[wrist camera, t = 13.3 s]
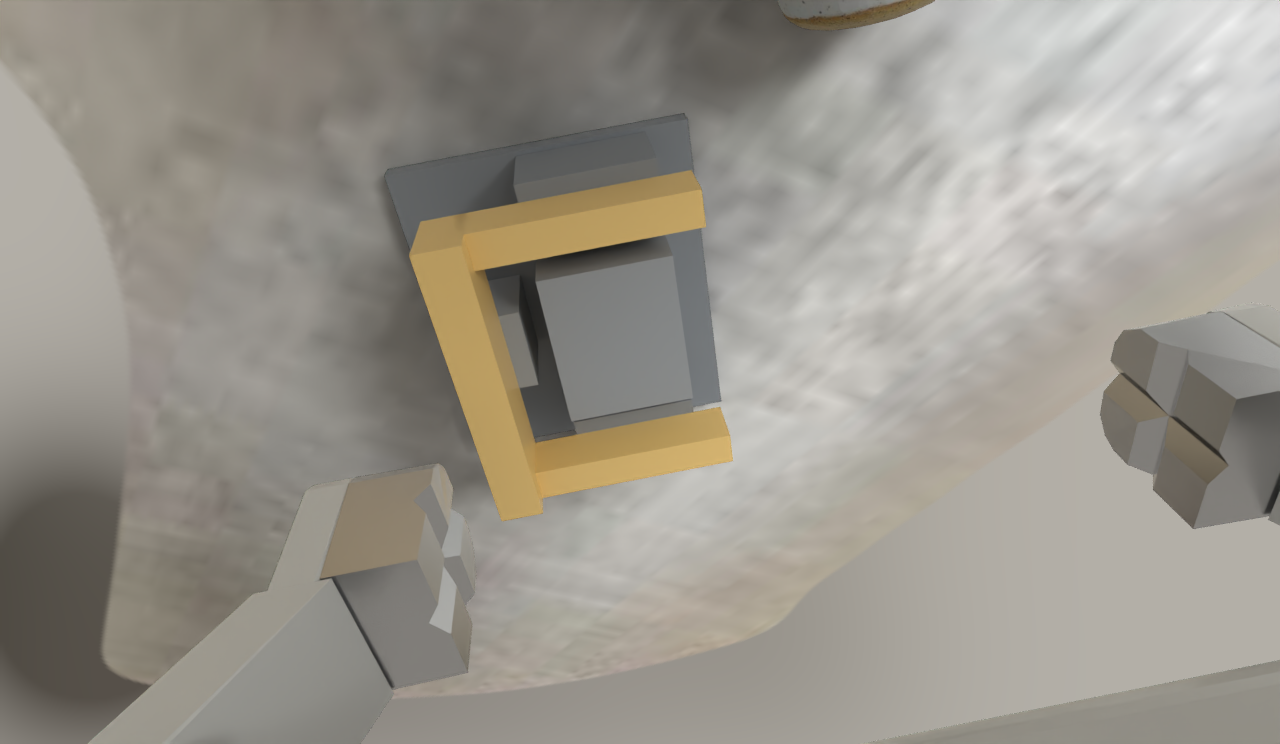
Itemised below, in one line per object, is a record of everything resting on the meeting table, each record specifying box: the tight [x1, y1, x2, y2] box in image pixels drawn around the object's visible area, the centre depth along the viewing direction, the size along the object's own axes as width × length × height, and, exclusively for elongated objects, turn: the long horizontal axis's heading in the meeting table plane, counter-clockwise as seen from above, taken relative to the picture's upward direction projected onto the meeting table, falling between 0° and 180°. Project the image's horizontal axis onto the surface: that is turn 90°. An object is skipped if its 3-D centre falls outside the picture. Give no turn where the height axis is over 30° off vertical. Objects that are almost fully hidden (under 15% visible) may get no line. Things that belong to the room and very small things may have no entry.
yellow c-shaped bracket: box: [409, 170, 733, 521], centre depth 35 cm, size 12×14×4 cm
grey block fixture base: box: [384, 113, 721, 438], centre depth 38 cm, size 14×16×6 cm
